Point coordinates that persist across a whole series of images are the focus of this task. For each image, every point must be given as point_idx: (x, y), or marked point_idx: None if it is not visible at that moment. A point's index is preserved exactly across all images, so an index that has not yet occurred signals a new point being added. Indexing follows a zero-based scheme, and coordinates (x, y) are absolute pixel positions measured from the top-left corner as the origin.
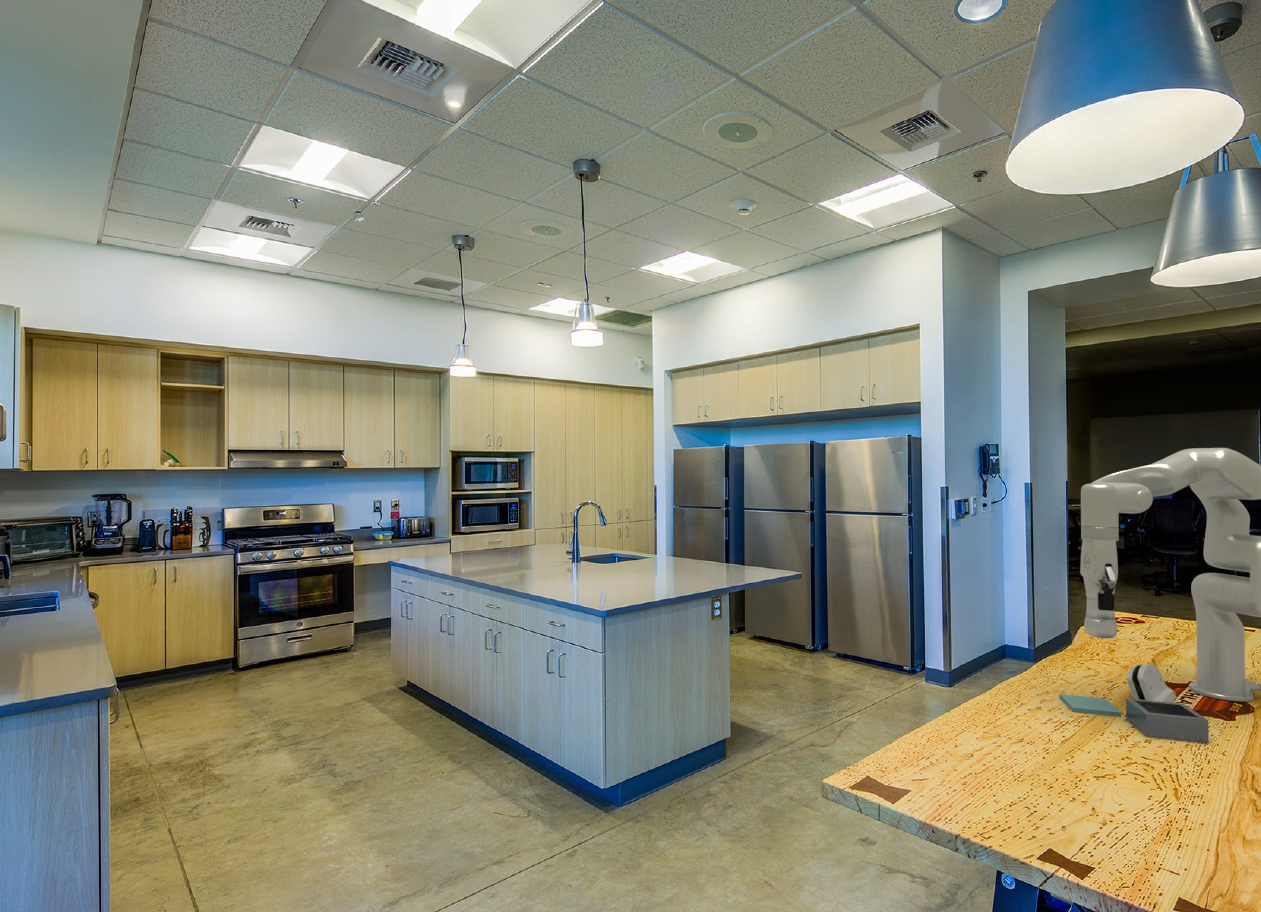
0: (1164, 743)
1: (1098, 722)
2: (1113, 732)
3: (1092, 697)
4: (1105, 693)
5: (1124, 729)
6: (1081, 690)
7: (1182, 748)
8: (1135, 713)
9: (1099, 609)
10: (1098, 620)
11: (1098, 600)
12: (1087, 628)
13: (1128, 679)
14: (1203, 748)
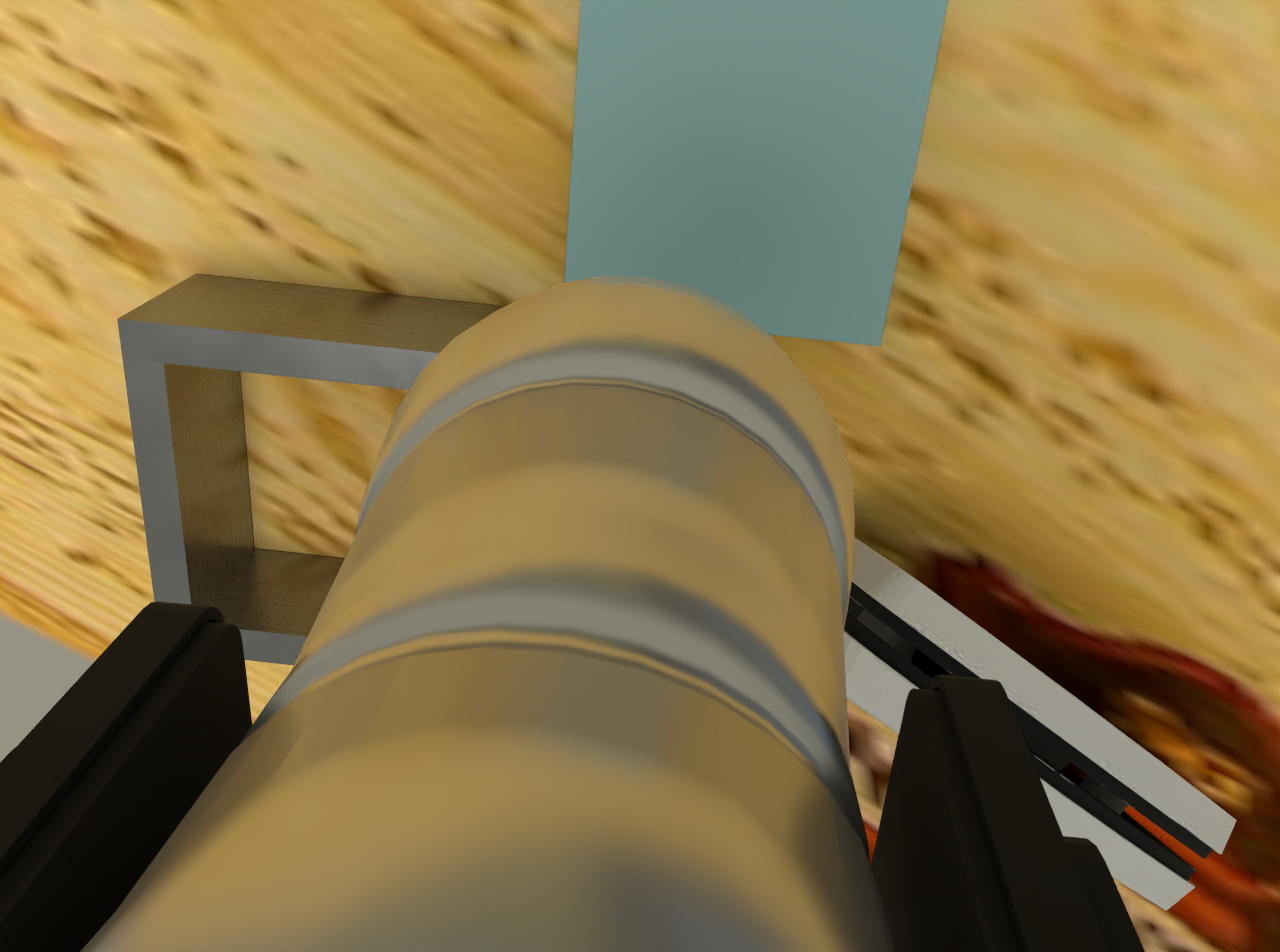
0: None
1: (388, 69)
2: (201, 85)
3: (889, 258)
4: (1100, 444)
5: (297, 198)
6: (1170, 292)
7: (78, 393)
8: (321, 320)
9: (153, 604)
10: (378, 490)
11: (39, 757)
12: (555, 290)
13: (898, 582)
14: (132, 507)
